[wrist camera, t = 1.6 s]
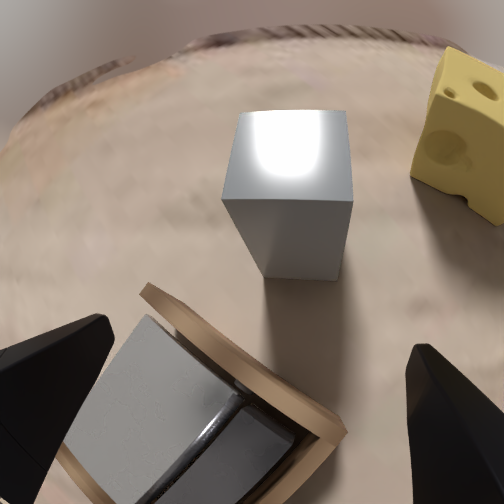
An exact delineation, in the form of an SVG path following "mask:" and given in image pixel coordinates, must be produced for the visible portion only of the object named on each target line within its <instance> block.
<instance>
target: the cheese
mask: <svg viewBox="0 0 504 504" xmlns="http://www.w3.org/2000/svg"><path fill="white" fill-rule="evenodd" d="M410 175H411V176H412V177H414V178H415V179H417V180H420V181H422V182H424V183H426V184H428V185H430V186H432V187H434V188H436V189H438V190H440V191H442V192H444V193H446V194H451V195H455V194H459V195H462V196H464V197H465V198H467V200H468V207H469V208H471V209H472V210H474V211H475V212H477V213H478V214H479V215H481V216H482V217H484V218H485V219H487V220H488V221H489V222H491V223H492V224H493V225H495V226H499V225H501V224H503V223H504V73H502V72H500V71H498V70H496V69H494V68H492V67H490V66H488V65H486V64H485V63H483V62H481V61H479V60H477V59H475V58H473V57H471V56H469V55H467V54H464V53H462V52H460V51H458V50H456V49H454V48H452V47H449V46H448V47H447V48H446V50H445V52H444V54H443V56H442V57H441V59H440V61H439V63H438V66H437V68H436V71H435V75H434V78H433V82H432V86H431V91H430V95H429V100H428V106H427V115H426V121H425V125H424V129H423V132H422V134H421V137H420V140H419V143H418V145H417V148H416V151H415V154H414V158H413V162H412V166H411V171H410Z"/></svg>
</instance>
